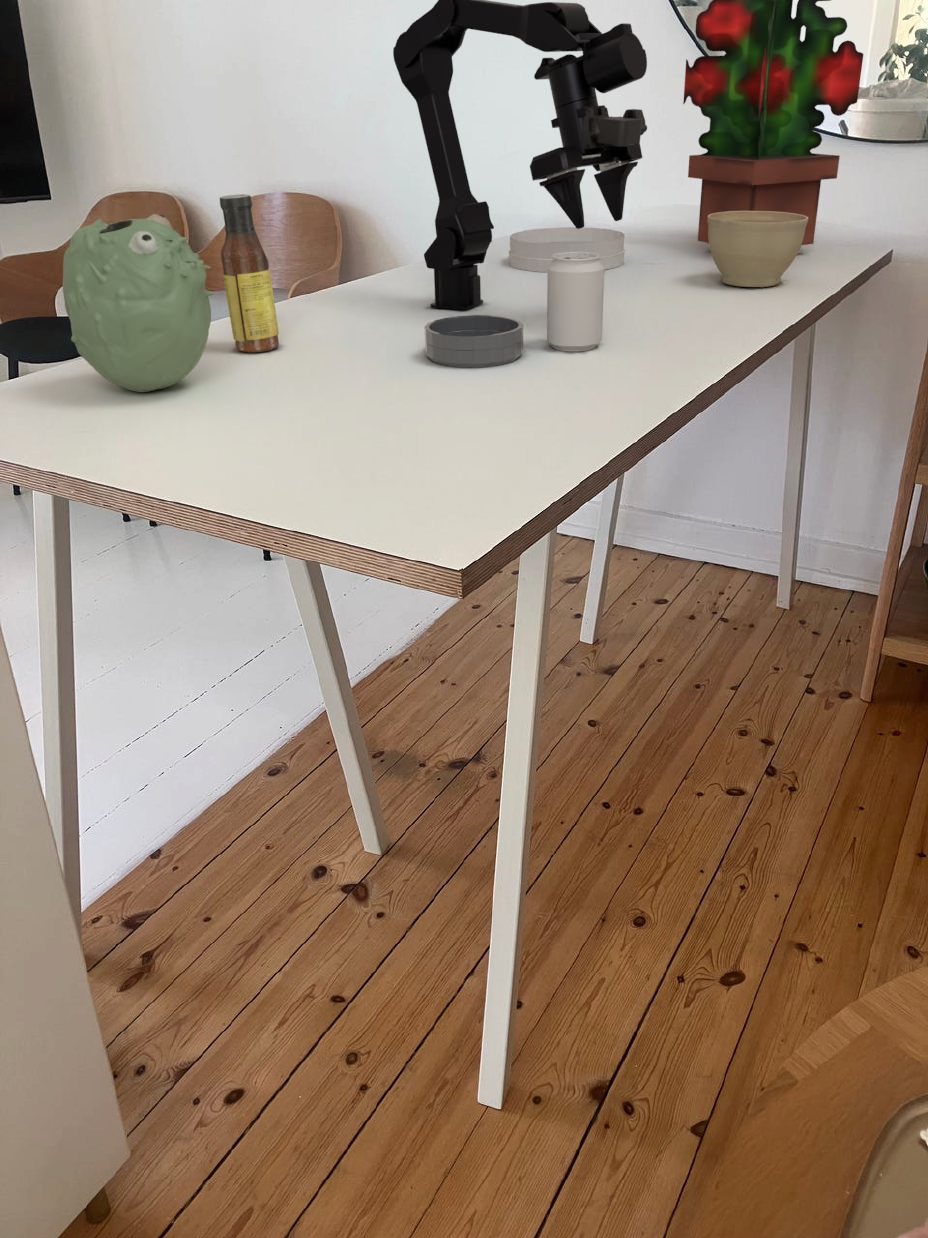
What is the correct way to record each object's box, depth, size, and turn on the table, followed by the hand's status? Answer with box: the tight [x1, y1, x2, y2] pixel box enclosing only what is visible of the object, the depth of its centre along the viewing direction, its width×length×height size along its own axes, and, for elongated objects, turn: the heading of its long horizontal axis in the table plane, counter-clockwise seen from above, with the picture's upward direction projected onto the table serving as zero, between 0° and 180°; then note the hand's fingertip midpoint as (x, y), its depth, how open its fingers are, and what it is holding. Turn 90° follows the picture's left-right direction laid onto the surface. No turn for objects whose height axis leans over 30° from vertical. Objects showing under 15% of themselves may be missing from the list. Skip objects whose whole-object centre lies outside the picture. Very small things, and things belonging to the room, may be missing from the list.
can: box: [546, 252, 605, 352], centre depth 141 cm, size 8×8×12 cm
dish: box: [508, 226, 626, 273], centre depth 203 cm, size 22×22×5 cm
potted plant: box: [682, 0, 864, 246], centre depth 198 cm, size 22×22×45 cm
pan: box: [423, 314, 524, 368], centre depth 139 cm, size 13×13×4 cm
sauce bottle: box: [219, 193, 280, 353], centre depth 142 cm, size 7×6×20 cm
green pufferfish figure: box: [62, 213, 215, 393], centre depth 125 cm, size 16×19×20 cm
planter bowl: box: [708, 211, 808, 288], centre depth 178 cm, size 16×16×11 cm
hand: (600, 224), depth 147 cm, fingers open, 9 cm apart
